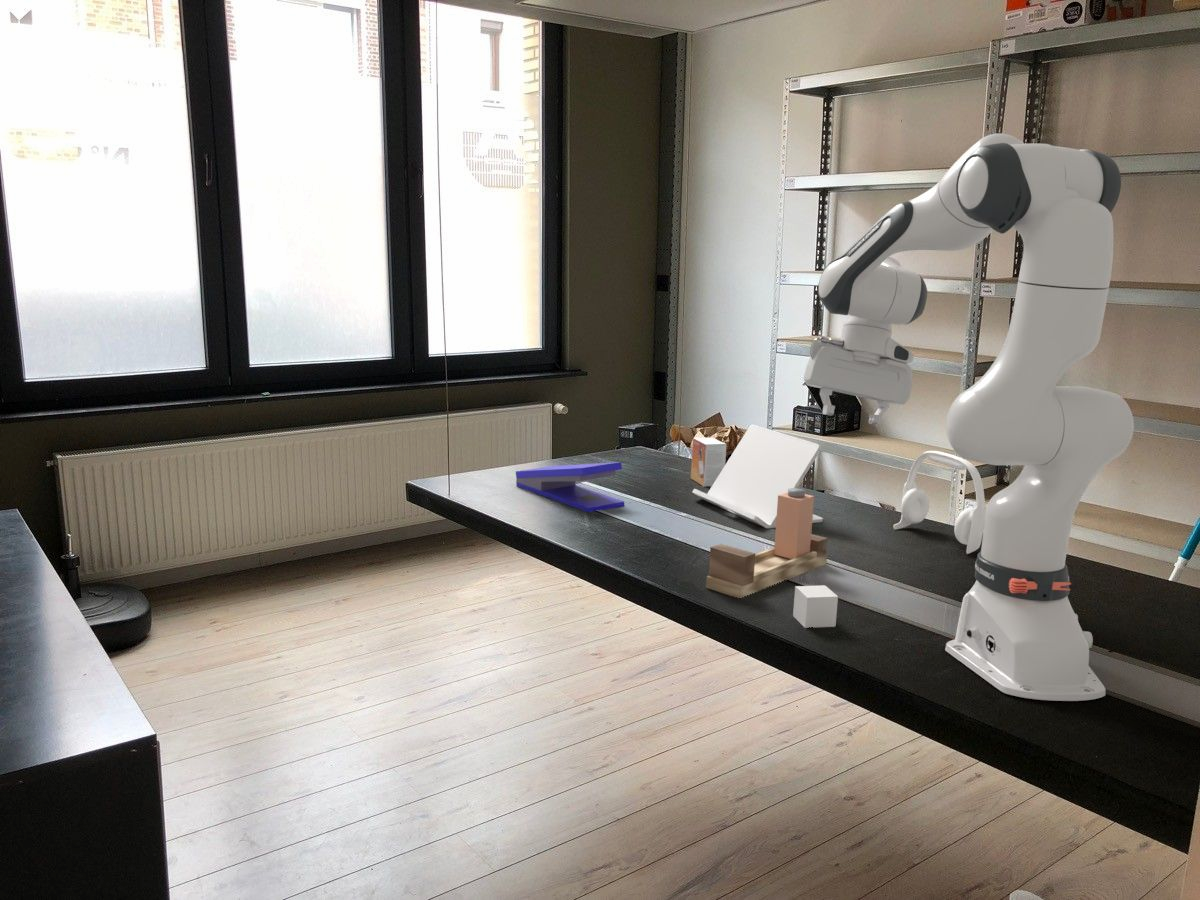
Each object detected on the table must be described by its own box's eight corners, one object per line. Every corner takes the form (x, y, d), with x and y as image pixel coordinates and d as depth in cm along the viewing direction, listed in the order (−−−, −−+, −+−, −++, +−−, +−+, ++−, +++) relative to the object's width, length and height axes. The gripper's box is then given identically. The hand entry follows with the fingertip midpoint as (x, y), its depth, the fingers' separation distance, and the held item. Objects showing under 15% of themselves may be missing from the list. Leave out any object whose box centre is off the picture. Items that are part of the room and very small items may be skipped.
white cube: (822, 615, 154) (825, 585, 153) (835, 627, 149) (838, 596, 148) (792, 616, 153) (795, 586, 152) (804, 628, 148) (807, 597, 147)
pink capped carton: (787, 549, 179) (792, 485, 177) (809, 554, 176) (814, 490, 174) (773, 554, 176) (778, 489, 173) (795, 560, 173) (800, 494, 170)
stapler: (586, 514, 208) (588, 469, 206) (512, 486, 229) (513, 446, 227) (627, 506, 215) (629, 463, 213) (551, 480, 236) (552, 441, 234)
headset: (989, 553, 189) (1000, 463, 185) (962, 556, 186) (972, 465, 182) (916, 525, 206) (925, 443, 203) (890, 528, 203) (898, 444, 200)
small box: (690, 479, 241) (692, 437, 239) (711, 478, 242) (713, 436, 240) (703, 487, 233) (705, 444, 231) (724, 486, 235) (727, 443, 233)
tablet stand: (755, 494, 229) (760, 423, 225) (824, 522, 207) (830, 444, 203) (689, 501, 221) (693, 427, 217) (754, 531, 199) (759, 449, 195)
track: (793, 554, 183) (796, 519, 182) (826, 563, 179) (829, 527, 177) (705, 587, 164) (708, 547, 163) (739, 598, 159) (742, 557, 158)
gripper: (820, 332, 174) (807, 408, 173) (921, 355, 178) (908, 429, 178) (805, 335, 180) (792, 409, 180) (903, 357, 184) (890, 429, 184)
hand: (850, 419), depth 179 cm, fingers open, 8 cm apart
